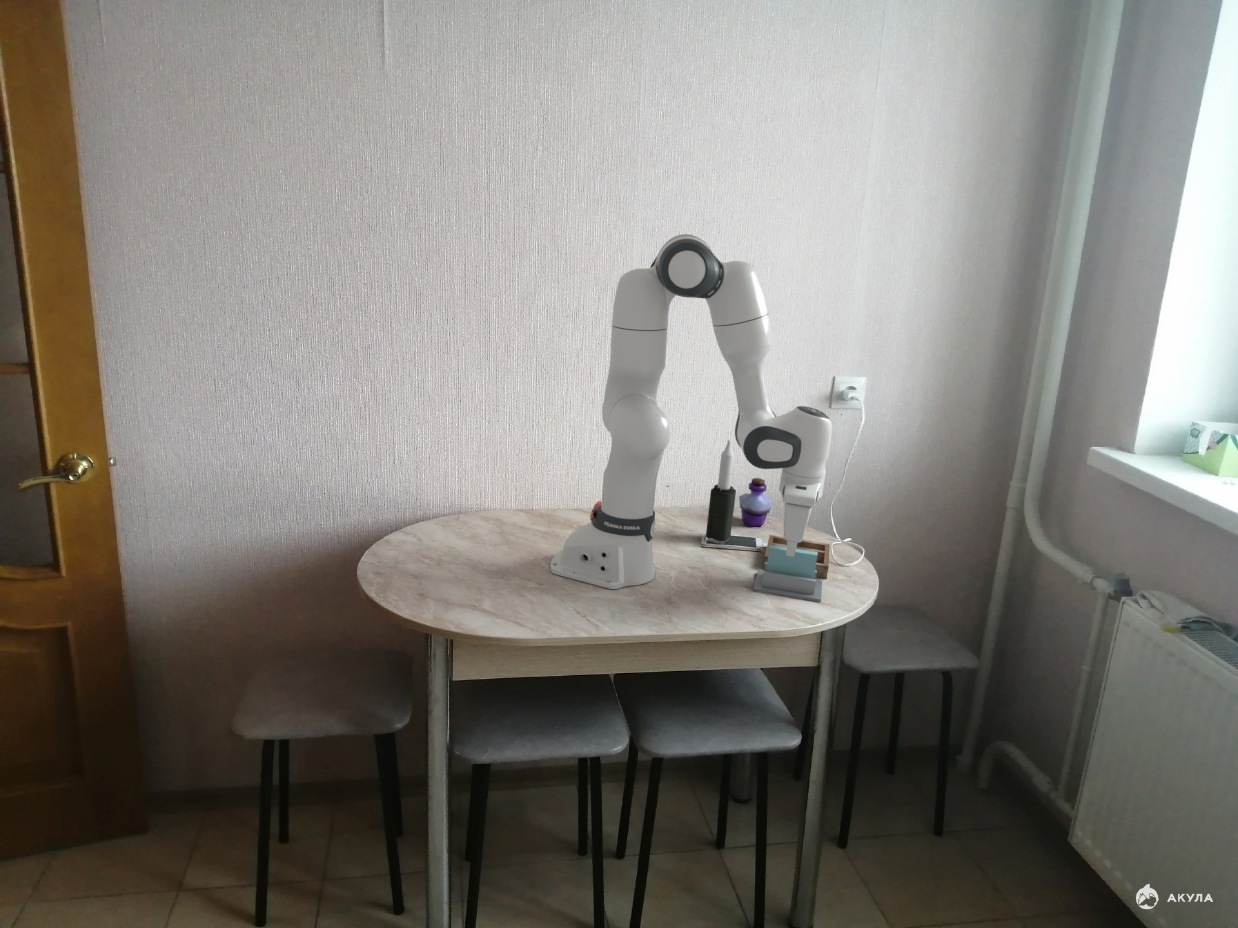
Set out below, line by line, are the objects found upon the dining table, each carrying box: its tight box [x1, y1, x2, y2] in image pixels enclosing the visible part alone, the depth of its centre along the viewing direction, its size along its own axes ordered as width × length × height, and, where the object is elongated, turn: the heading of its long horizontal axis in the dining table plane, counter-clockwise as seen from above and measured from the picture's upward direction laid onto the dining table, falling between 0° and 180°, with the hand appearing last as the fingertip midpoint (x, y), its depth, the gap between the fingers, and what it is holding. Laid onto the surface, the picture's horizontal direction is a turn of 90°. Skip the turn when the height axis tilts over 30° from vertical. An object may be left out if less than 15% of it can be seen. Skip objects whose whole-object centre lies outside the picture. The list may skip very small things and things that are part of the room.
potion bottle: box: [738, 477, 774, 528], centre depth 224 cm, size 9×9×12 cm
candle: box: [705, 439, 737, 541], centre depth 209 cm, size 5×5×25 cm
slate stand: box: [752, 562, 823, 603], centre depth 189 cm, size 14×10×4 cm
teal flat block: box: [766, 545, 818, 579], centre depth 188 cm, size 10×2×8 cm, turn 77°
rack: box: [762, 534, 831, 580], centre depth 203 cm, size 14×14×3 cm
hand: (791, 547), depth 187 cm, fingers open, 8 cm apart
